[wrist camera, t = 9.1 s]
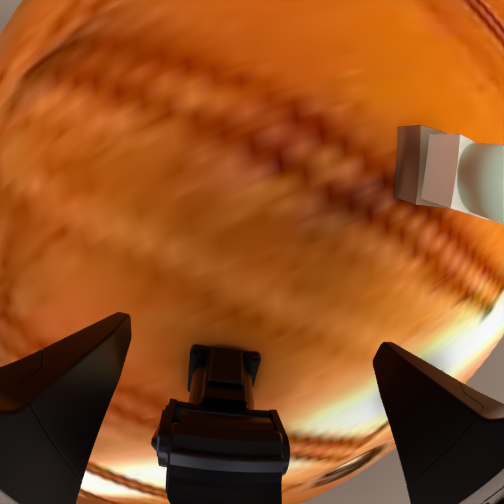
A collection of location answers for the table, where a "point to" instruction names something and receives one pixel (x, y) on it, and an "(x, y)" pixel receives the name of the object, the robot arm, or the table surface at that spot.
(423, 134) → the tower base block
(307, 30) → the table surface
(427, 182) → the tower top block
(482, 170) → the grey domed cylinder
